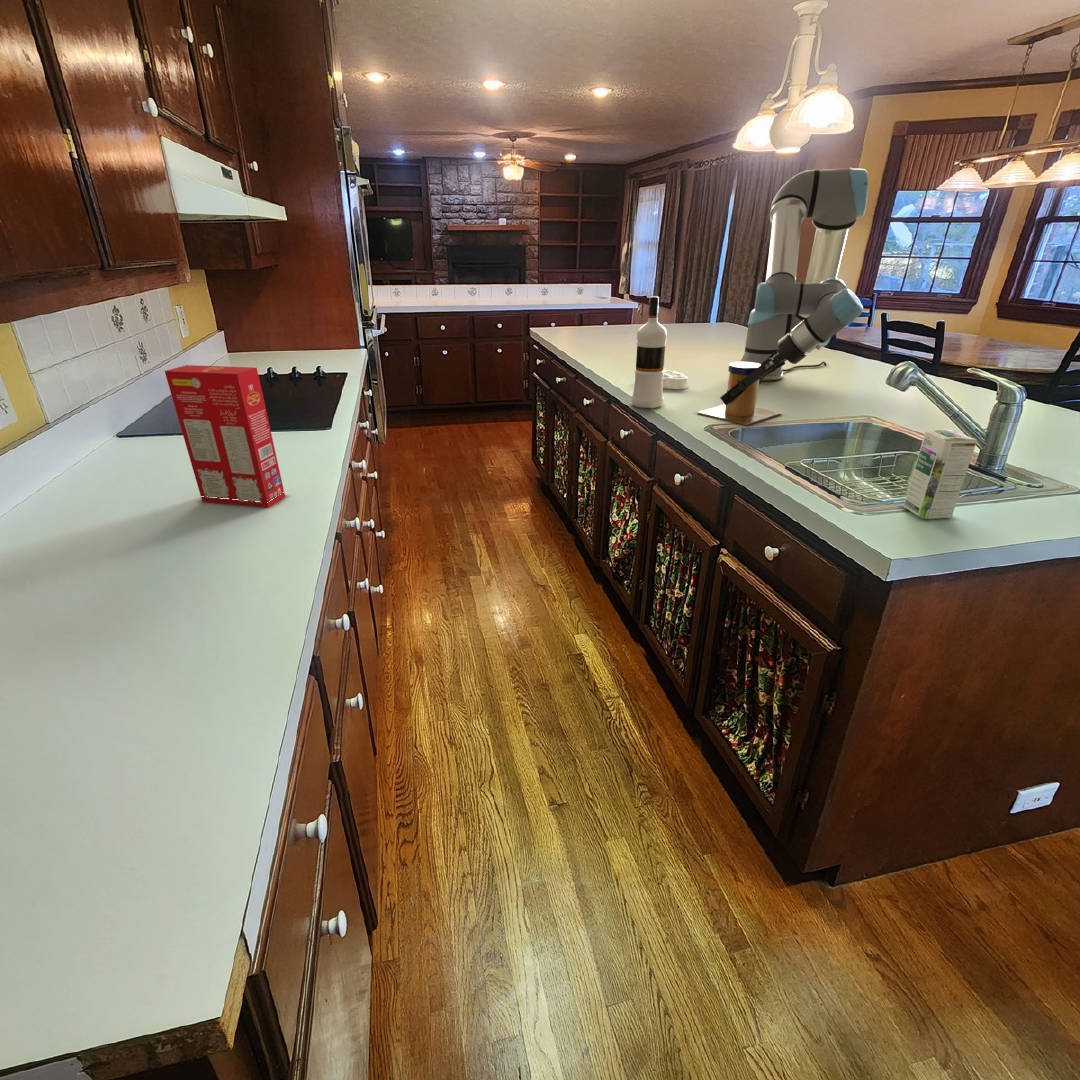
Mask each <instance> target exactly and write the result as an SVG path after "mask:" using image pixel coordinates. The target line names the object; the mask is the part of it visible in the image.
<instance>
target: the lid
mask: <svg viewBox="0 0 1080 1080" xmlns="http://www.w3.org/2000/svg"><path fill="white" fill-rule="evenodd" d="M759 366H761V364H758V363H753V362H739V361H734V362H730V363H729V364H728V370H727V371H728V373H729V372H731V373H734V374H741V375H749V374H750V373H752V372H753V371H754V370H755V369H757V368H758V367H759Z"/></svg>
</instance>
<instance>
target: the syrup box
mask: <svg viewBox="0 0 1080 1080" xmlns="http://www.w3.org/2000/svg"><path fill="white" fill-rule="evenodd" d="M977 443H978V439H977V438H973V437H970V436H968V435H965V434H963V433H960V432H958V431H957V430H952V429H931V430H926V431H925V432H924V435H923V438H922V441H921V445H920V448H919V451H918V455H917V459H916V462H915V465H914V469H913V473H912V475H911V479H910V483H909V487H908V490H907V493H906V497H905V500H904V503H903V508H904V509H906V510H908V511H909V512H911V513H912V514H914V515H915V516H917V517H919V519H921V520H935V519H950V518H952V517H953V515H954V511H955V508H956V506H957V502H958V500H959V497H960V494H961V491H962V488H963V485H964V482H965V479H966V476H967V474H968V473H967V472H968V471H969V470H968V469H969V467H970V464H971V461H972V458H973V455H974V453H975V449H976V446H977Z"/></svg>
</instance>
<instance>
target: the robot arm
mask: <svg viewBox="0 0 1080 1080" xmlns="http://www.w3.org/2000/svg"><path fill="white" fill-rule="evenodd" d="M868 191H869V174H868V171H867V170H866V169H865V168H853V167H848V168H831V169H808V170H804V171H802V172H799V173H797V174H795V175H794V176H792V177H791V178H790V179H788V180H787V181H786V182H785V183H784V184H783V185H782V186H781V187H780V189H779V190H778V191H777V192H776V194H775V196H774V198H773V200H772V201H771V205H770V209H769V221H770V223H771V232H770V240H769V247H768V248H769V249H768V258H767V266H766V274H765V282H760V283H758V284H757V289H756V294H755V302H754V303H755V304H754V309H752V310H751V311H750V313H749V317H748V322H747V332H746V339H745V346H744V352H743V355H742V357H741V360H738V362H753V363H758V364H761V366H759V367H758V368H757V369H755V370H754V371H753V372H752V373H750V374H749V375H748V376H746V377H745V378H744V379H743V380H741V381H739V380H737V382H738V384H737V385H735V386H734V387H733V388H731V389H730V390H729V391H728V392H727V391H726V392H725V393H724V394H722V395H721V396H720V397H719V398H720V400H721V402H722V403H723V405H728V404H729V403H730V402H731V401H733V400H734V399H735V398H736V397H738V396H739V395H740V394H742V393H743V392H744V391H745V390H746V389H747V388H748V387H750V386H751V385H752V384H754V383H755V382H756V381H758V380H759V385H758V386H760V385H761V384H762V382H772V381H773V382H774V381H778V380H779V381H780V380H781V379H782V377H783V372H790V371H792V370H794V369H800V368H818V367H821V366H822V365H824V366H827V362H825V361H821V362H820V363H819V364H811V365H810V364H808V365H807V364H805V365H797V364H798V363H800V361H802V360H803V359H805V358H806V357H807V356H808V354H811V353H812V352H813V351H815V350H821V348H824V347H826V346H827V345H828V344H829V342H830V341H831V339H832V337H833V336H835V335H836V334H837V333H839V332H840V331H841V330H842V329H845V327H847V326H848V325H850V324H852V323H853V322H854V320H856V319H857V318H858V317H859V316H860V315H862V313H863V311H864V306H863V304H862V303H861V300H860V298H859V297H858V296H857V295H856V294H855V292H853V291H852V290H851V289H850V288H848V286H847V285H846V283H845V282H844V280H842V279H841V278H839V277H838V273H839V269H840V265H841V260H842V257H843V252H844V249H845V245H846V240H847V238H848V237H847V236H848V232H849V230H850V229H851V228H853V227H854V226H855V225H856V223H857V220H858V218H862V217H864V216H865V213H866V210H867V203H868ZM805 218H809V219H810V218H812V221H811V223H812V226H813V227H814V228H815V234H814V239H813V244H812V248H811V253H810V260H809V263H808V268H807V272H806V277H805V282H797V275H798V274H797V273H798V262H799V251H800V243H801V234H802V233H801V231H802V223H803V221H804V220H805ZM786 361H788V363H790V364H792V365H795V366H792V367H790V368H787V369H786V368H785V369H784V368H783V366H785V365H786Z"/></svg>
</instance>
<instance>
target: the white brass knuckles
mask: <svg viewBox="0 0 1080 1080" xmlns="http://www.w3.org/2000/svg"><path fill="white" fill-rule="evenodd" d="M663 370H664V374H663V389H671V390H686V389H687V388H688V381H689V377H688V376H686V375H685V374H684V373H682V372H678V371H675V370H670V369H669V370H668V369H665V368H664V369H663Z"/></svg>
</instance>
